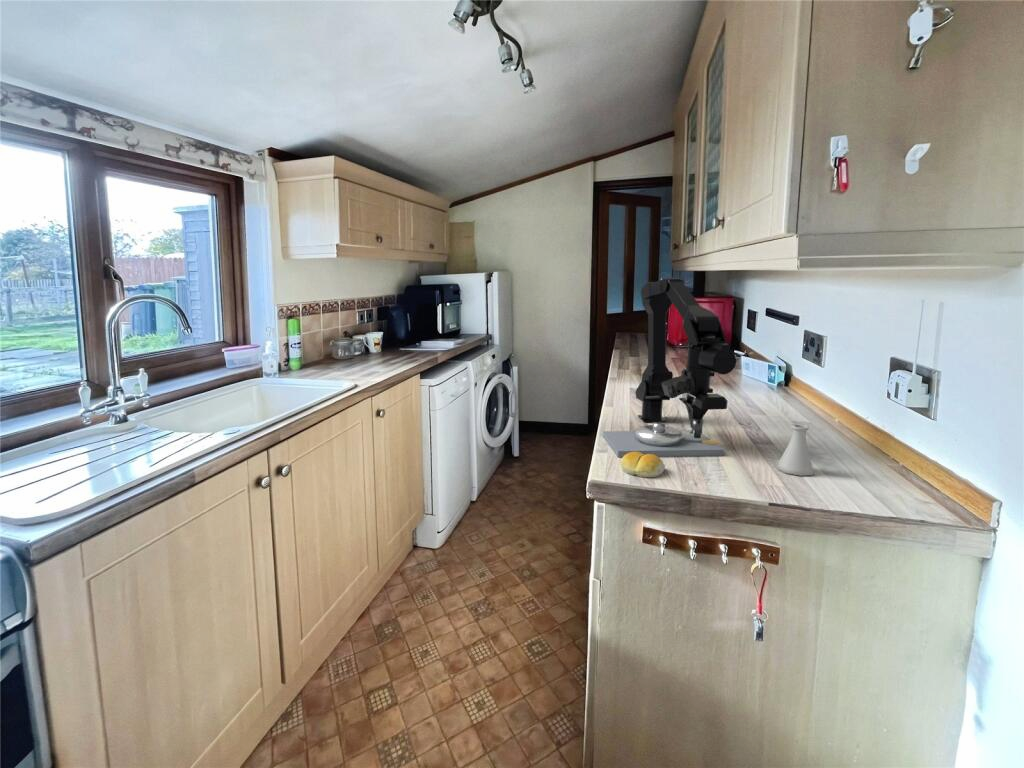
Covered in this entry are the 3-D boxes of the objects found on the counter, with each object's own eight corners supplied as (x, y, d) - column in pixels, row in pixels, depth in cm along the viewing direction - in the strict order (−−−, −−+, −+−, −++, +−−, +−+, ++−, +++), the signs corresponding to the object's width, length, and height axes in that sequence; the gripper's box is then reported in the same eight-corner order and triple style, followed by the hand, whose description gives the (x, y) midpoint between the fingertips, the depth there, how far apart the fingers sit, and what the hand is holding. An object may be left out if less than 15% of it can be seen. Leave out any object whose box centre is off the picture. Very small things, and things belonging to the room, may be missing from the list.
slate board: (602, 436, 134) (603, 429, 133) (698, 435, 135) (698, 427, 135) (617, 457, 118) (618, 448, 118) (725, 455, 119) (726, 447, 119)
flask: (819, 478, 106) (825, 431, 104) (782, 475, 107) (787, 429, 105) (807, 466, 113) (812, 422, 111) (771, 463, 114) (776, 420, 112)
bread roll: (630, 461, 116) (631, 444, 115) (668, 470, 111) (669, 453, 110) (612, 471, 110) (613, 453, 109) (652, 481, 104) (653, 463, 104)
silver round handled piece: (637, 445, 122) (638, 422, 121) (633, 431, 132) (634, 411, 131) (706, 448, 119) (708, 425, 118) (696, 434, 130) (698, 413, 129)
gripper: (652, 360, 132) (648, 418, 136) (685, 374, 114) (679, 441, 117) (692, 359, 134) (688, 417, 137) (731, 373, 115) (725, 439, 119)
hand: (693, 428), depth 127 cm, fingers closed
